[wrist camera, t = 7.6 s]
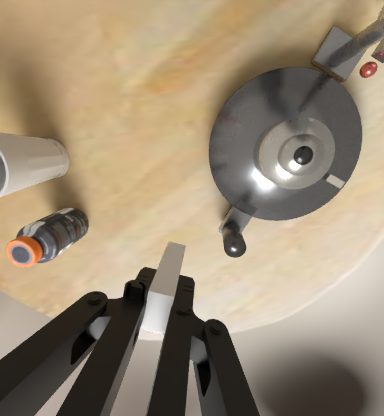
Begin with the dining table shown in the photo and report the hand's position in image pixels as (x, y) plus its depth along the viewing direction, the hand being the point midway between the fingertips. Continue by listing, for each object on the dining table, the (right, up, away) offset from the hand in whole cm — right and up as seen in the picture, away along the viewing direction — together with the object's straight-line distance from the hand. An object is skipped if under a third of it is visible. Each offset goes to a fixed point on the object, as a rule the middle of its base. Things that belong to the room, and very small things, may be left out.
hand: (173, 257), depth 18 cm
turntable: (+13, +10, +13) cm, 21 cm away
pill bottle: (-20, +2, +20) cm, 28 cm away
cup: (-22, +12, +17) cm, 30 cm away
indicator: (+20, +22, +10) cm, 31 cm away
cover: (+14, +12, +11) cm, 21 cm away
